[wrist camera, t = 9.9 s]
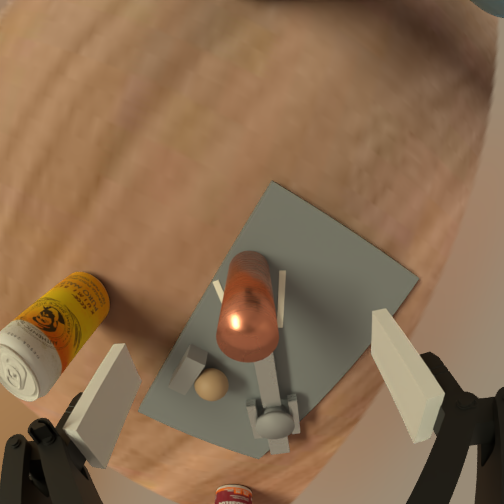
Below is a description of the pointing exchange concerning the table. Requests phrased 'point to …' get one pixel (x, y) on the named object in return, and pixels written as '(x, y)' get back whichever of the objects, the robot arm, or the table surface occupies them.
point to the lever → (254, 334)
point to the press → (279, 326)
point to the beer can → (50, 335)
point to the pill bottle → (233, 495)
